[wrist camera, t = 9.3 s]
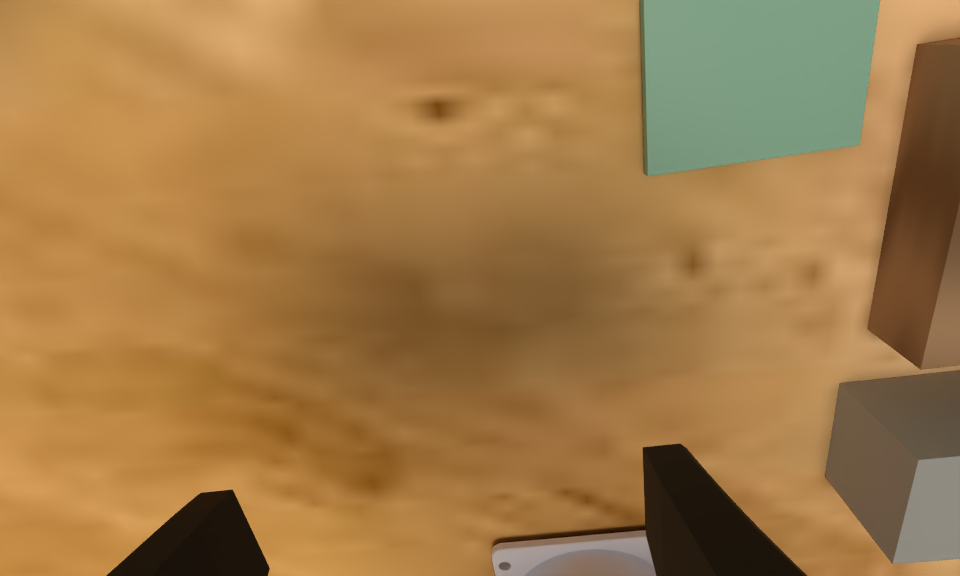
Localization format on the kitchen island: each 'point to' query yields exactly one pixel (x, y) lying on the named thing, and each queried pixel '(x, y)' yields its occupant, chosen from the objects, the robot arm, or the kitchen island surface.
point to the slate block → (901, 462)
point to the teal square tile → (752, 79)
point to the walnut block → (924, 219)
